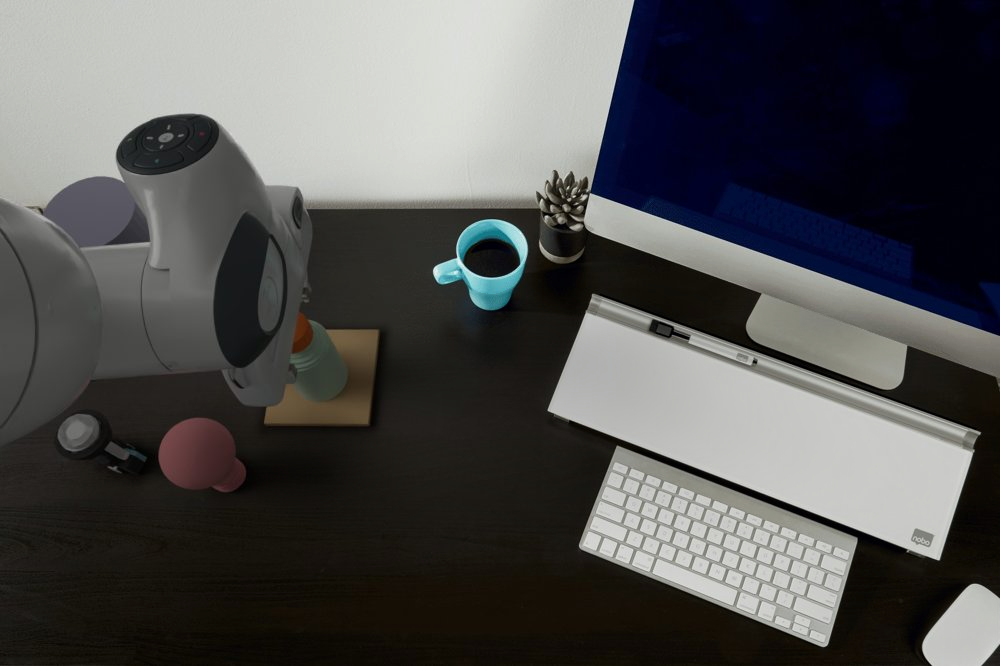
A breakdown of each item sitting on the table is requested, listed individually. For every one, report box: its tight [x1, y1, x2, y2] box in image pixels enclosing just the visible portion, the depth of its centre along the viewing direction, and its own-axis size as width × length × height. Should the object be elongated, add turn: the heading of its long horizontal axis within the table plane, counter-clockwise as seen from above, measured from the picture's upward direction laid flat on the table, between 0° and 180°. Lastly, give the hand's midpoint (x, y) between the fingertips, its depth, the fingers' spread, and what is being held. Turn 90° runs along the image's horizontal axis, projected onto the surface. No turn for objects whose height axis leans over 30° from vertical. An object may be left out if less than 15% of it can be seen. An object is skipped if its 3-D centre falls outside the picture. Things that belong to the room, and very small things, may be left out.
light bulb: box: [158, 417, 247, 493], centre depth 75 cm, size 7×7×12 cm
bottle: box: [290, 319, 348, 402], centre depth 79 cm, size 6×6×12 cm
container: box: [41, 175, 150, 247], centre depth 86 cm, size 10×10×15 cm
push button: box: [54, 408, 148, 476], centre depth 78 cm, size 7×5×10 cm
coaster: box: [263, 329, 381, 427], centre depth 85 cm, size 12×12×1 cm
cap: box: [291, 311, 314, 354], centre depth 74 cm, size 4×4×2 cm
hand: (296, 335), depth 76 cm, fingers open, 8 cm apart
